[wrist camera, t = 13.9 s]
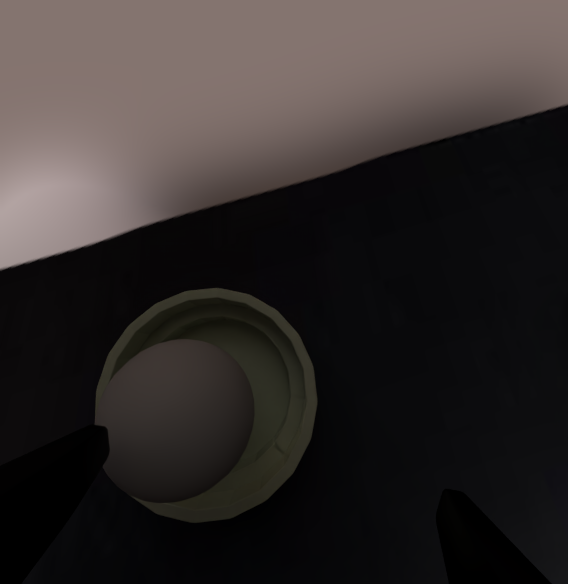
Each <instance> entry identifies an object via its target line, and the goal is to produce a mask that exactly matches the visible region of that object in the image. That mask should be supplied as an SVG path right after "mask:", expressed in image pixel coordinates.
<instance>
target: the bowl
mask: <svg viewBox="0 0 568 584" xmlns="http://www.w3.org/2000/svg"><path fill="white" fill-rule="evenodd" d="M177 339H191V340H198V341H204V342H207V343H209V344H212V345H215V346H217V347H219V348H221V349H222V350H224V351H225V352H227V353H228V354H229V355H230V356H232V357H233V358H234V359H235V360H236V361H237V362H238V364H239V365H240V366H241V368H242V369H243V371H244V372H245V374H246V376H247V378H248V381H249V383H250V385H251V389H252V393H253V397H254V412H255V415H254V422H253V429H252V432H251V435H250V438H249V441H248V444H247V447H246V449H245V451H244V452H243V454H242V456H241V458H240V460H239V461H238V463H237V464H236V465H235V467H234V468H233V469H232V470H231V471H230V473H229V474H228V475H227V476H226V477H224V478H223V479H222V480H221V481H220V482H218V483H217V484H216V485H215V486H213V487H212V488H211V489H209V490H207V491H205V492H203V493H202V494H200V495H198V496H196V497H193V498H189V499H186V500H183V501H179V502H172V503H153V502H147V501H143V500H140V499H138V498H135V497H133V496H131V497H133V498H134V499H135V500H137V501H138V502H140V503H141V504H143V505H144V506H145V507H147V508H148V509H150V510H151V511H153V512H154V513H156V514H158V515H162V516H166V517H170V518H174V519H178V520H182V521H186V522H190V523H199V522H207V521H216V520H224V519H230V518H233V517H235V516H237V515H239V514H241V513H243V512H245V511H247V510H249V509H251V508H253V507H255V506H257V505H259V504H261V503H263V502H265V500H267V499H268V498H269V497H270V496H271V495H272V494H273V493H274V492H275V491H276V490H277V489H278V488H279V487H280V486H281V485H282V484H283V483H284V482H285V481H286V480H287V479H288V478H289V477H290V476H291V475H292V474H293V473H294V471H295V469H296V467H297V466H298V464H299V462H300V460H301V458H302V456H303V454H304V452H305V450H306V448H307V446H308V444H309V442H310V440H311V437H312V431H313V426H314V420H315V415H316V409H317V401H318V400H317V392H316V384H315V375H314V367H313V364H312V362H311V360H310V358H309V355H308V353H307V351H306V349H305V347H304V344H303V342H302V340H301V338H300V336H299V334H298V333H297V332H296V331H295V330H294V328H293V327H292V326H291V325H290V324H289V323H288V322H287V321H286V320H285V319H284V317H283V316H282V315H281V314H280V313H279V312H278V311H277V310H276V309H274V308H272V307H270V306H269V305H267V304H265V303H263V302H262V301H260V300H258V299H257V298H255V297H253V296H251V295H249V294H245V293H240V292H235V291H231V290H226V289H221V288H212V289H202V290H192V291H185V292H183V293H180V294H178V295H175V296H173V297H171V298H168V299H166V300H163V301H161V302H159V303H156V304H155V305H153V306H152V307H151V308H150V309H148V310H147V311H146V312H145V313H144V314H142V315H141V316H140V317H139V318H137V319H136V320H135V321H134V322H132V323H131V324H130V325H129V326H128V327H127V328H126V330H125V331H124V333H123V334H122V336H121V337H120V338H119V340H118V341H117V343H116V344H115V346H114V347H113V348H112V350H111V351H110V353H109V354H108V357H107V360H106V363H105V366H104V369H103V372H102V375H101V377H100V380H99V383H98V386H97V390H96V410H95V416H96V412H97V408H98V405H99V401H100V399H101V397H102V395H103V392H104V390H105V388H106V386H107V385H108V383H109V382H110V381H111V379H112V378H113V376H114V375H115V374H116V373H117V372H118V371H119V370H120V369H121V368H122V367H123V366H124V365H125V364H126V363H127V362H128V361H129V360H130V359H131V358H133V357H134V356H136V355H137V354H138V353H140V352H141V351H143V350H145V349H147V348H150V347H152V346H154V345H156V344H159V343H163V342H166V341H170V340H177ZM128 495H129V494H128Z"/></svg>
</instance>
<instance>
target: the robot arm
mask: <svg viewBox="0 0 568 584" xmlns="http://www.w3.org/2000/svg"><path fill="white" fill-rule="evenodd" d="M109 453H110V444H109V435H108V429H107V428H106V427H105V426H101V425H96V424H91V425H89V426H86V427H84V428H82V429H80V430H78V431H75V432H73V433H71V434H69V435H67V436H64V437H62V438H60V439H58V440H56V441H54V442H51V443H49V444H47V445H45V446H43V447H40V448H38V449H36V450H34V451H32V452H29V453H27V454H25V455H23V456H21V457H19V458H16V459H14V460H12V461H10V462H8V463H5V464H3V465H1V466H0V584H21V583H22V582H23V581H24V579H25V578H26V577H27V575H28V574H29V573H30V571H31V570H32V569H33V567H34V566H35V565H36V563H37V562H38V560H39V559H40V558H41V556H42V555H43V554H44V552H45V551H46V550H47V548H48V547H49V546H50V544H51V543H52V542H53V540H54V539H55V538H56V536H57V535H58V534H59V532H60V531H61V530H62V528H63V527H64V525H65V524H66V523H67V521H68V520H69V518H70V517H71V515H72V514H73V512H74V511H75V509H76V508H77V506H78V505H79V503H80V502H81V500H82V498H83V497H84V495H85V494H86V492H87V490H88V489H89V487H90V486H91V484H92V482H93V481H94V479H95V478H96V476H97V475H98V473H99V471H100V470H101V468H102V467H103V465H104V463H105V462H106V460H107V458H108V456H109ZM436 523H437V528H438V533H439V538H440V543H441V547H442V552H443V557H444V562H445V566H446V571H447V576H448V581H449V584H551V583H550V582H549V581H548V580H547V579H546V577H545V576H544V575H543V574H542V573H541V572H540V571H539V570H538V569H537V568H536V567H535V566H534V565H533V564H532V563H531V562H530V561H529V560H528V559H527V558H526V557H525V556H524V555H523V554H522V553H521V552H520V550H519V549H518V548H517V547H516V546H515V545H514V544H513V543H512V542H511V541H510V540H509V539H508V538H507V537H506V536H505V535H504V534H503V533H502V532H501V531H500V530H499V529H498V528H497V527H496V526H495V524H494V523H493V522H492V521H491V520H490V519H489V518H488V517H487V516H486V515H485V514H484V513H483V512H482V511H481V510H480V509H479V508H478V507H477V506H476V505H475V504H474V503H473V502H472V501H471V500H470V498H469V497H468V496H467V495H466V494H464V493H463V492H461V491H456V490H451V489H445V490H444V491H443V492H442V495H441V499H440V502H439V506H438V509H437V513H436Z"/></svg>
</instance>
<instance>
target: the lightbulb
mask: <svg viewBox="0 0 568 584" xmlns="http://www.w3.org/2000/svg"><path fill="white" fill-rule="evenodd" d="M254 415H255V412H254V397H253V393H252V389H251V385H250V383H249V381H248V378H247V376H246V374H245V372H244V371H243V369H242V368H241V366H240V365H239V364H238V362H237V361H236V360H235V359H234V358H233V357H232V356H230V355H229V354H228V353H227V352H225V351H224V350H222V349H221V348H219V347H217V346H215V345H212V344H209V343H207V342H204V341H198V340H191V339H177V340H170V341H166V342H163V343H159V344H156V345H154V346H152V347H150V348H147V349H145V350H143V351H141V352H140V353H138V354H137V355H136V356H134V357H133V358H131V359H130V360H129V361H128V362H127V363H126V364H125V365H124V366H123V367H122V368H121V369H120V370H119V371H118V372H117V373H116V374H115V375H114V376H113V378H112V379H111V381H110V382H109V383H108V385H107V386H106V388H105V390H104V392H103V395H102V397H101V399H100V401H99V405H98V408H97V412H96V416H95V424H96V425H101V426H105V427H106V428H107V429H108V435H109V444H110V453H109V456H108V458H107V460H106V462H105V463H104V465H103V468H104V470H105V472H106V473H107V475H108V476H109V477H110V478H111V480H112V481H113V482H114V483H115V484H116V485H117V486H118V487H119V488H120V489H122V490H123V491H125V492H126V493H127V494H129V495H130V496H133V497H135V498H138V499H140V500H143V501H147V502H153V503H172V502H179V501H183V500H186V499H189V498H193V497H196V496H198V495H200V494H202V493H203V492H205V491H207V490H209V489H211V488H212V487H213V486H215V485H216V484H217V483H218V482H220V481H221V480H222V479H223V478H224V477H226V476H227V475H228V474H229V473H230V471H231V470H232V469H233V468H234V467H235V465H236V464H237V463H238V461H239V460H240V458H241V456H242V454H243V452H244V451H245V449H246V447H247V444H248V441H249V438H250V435H251V432H252V429H253V422H254Z"/></svg>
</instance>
